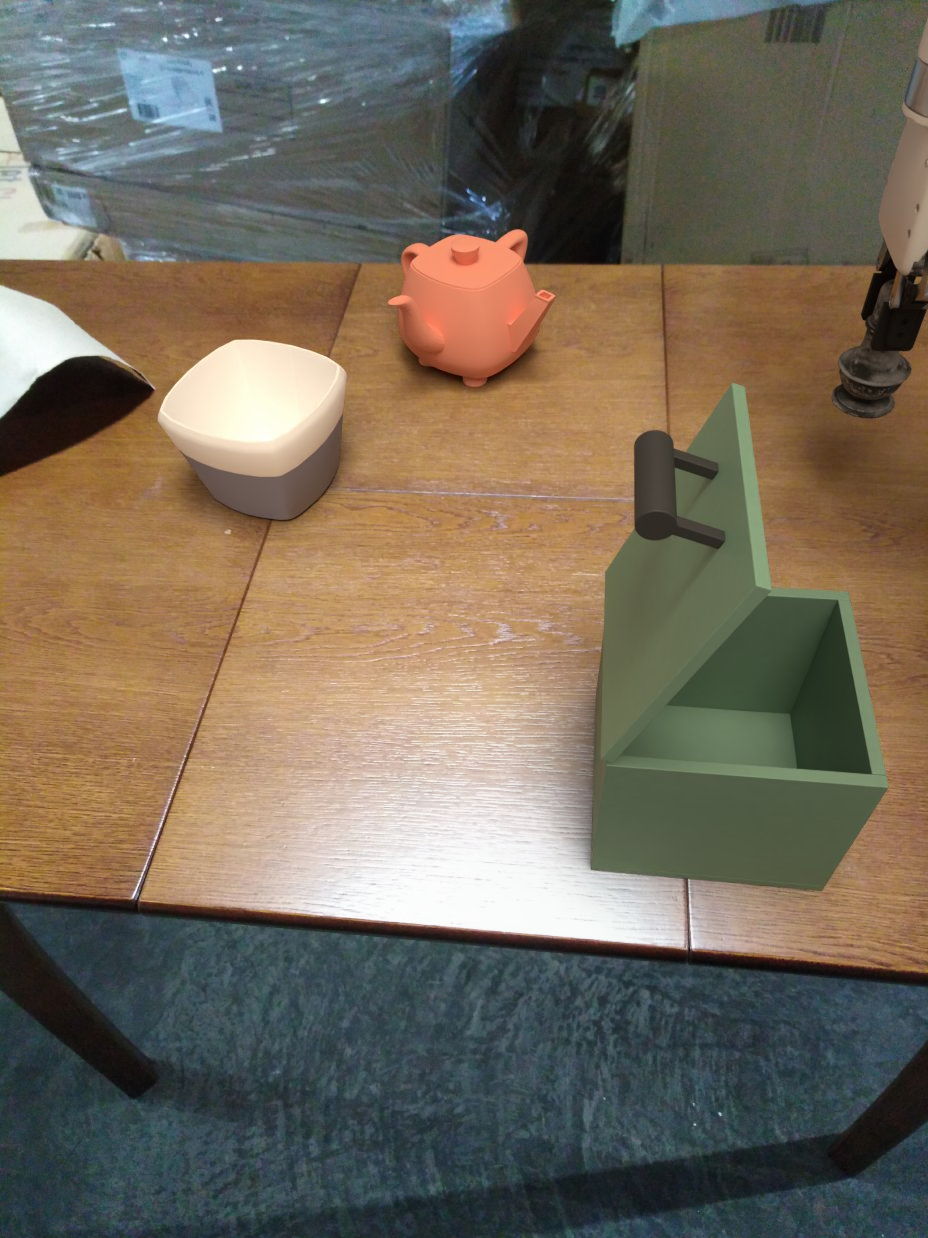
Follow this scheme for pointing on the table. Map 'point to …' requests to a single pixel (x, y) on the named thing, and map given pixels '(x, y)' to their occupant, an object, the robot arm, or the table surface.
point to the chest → (750, 757)
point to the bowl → (260, 425)
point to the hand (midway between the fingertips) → (885, 331)
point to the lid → (681, 567)
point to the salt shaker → (870, 372)
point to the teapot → (469, 304)
